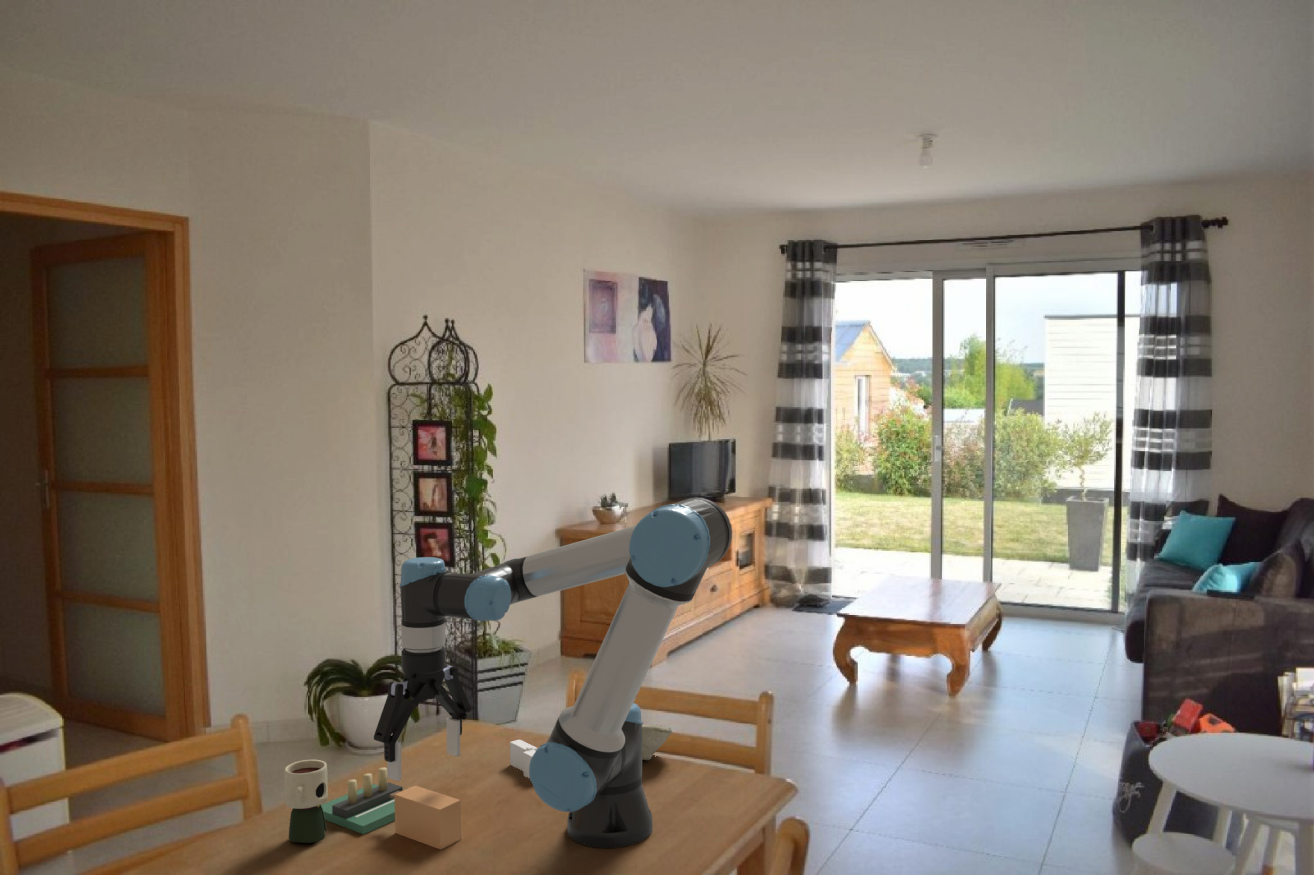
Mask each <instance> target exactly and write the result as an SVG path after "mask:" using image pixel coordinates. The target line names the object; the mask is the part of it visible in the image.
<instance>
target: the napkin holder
mask: <svg viewBox="0 0 1314 875" xmlns="http://www.w3.org/2000/svg"><path fill="white" fill-rule="evenodd" d="M538 748H539V747H536V746H534V745H532V744H530V743H528V742H526V741H524V740H522V739H516V740H513V741H509V750H510V752H509V754H510V758H509V760H510V763H509V764H511V766H512V767H514V768H515V769H517V768H518V770H519V769H520V770H519V771H521V770H522V772H523V777H525V778H527V777H528V778H527V779H529V778H530V776H529V765H530V761H531V758H532V756H533V755H534V753H535V752H536V750H537V749H538Z"/></svg>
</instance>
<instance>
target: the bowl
mask: <svg viewBox="0 0 1314 875" xmlns="http://www.w3.org/2000/svg"><path fill="white" fill-rule="evenodd" d="M672 734H673V731H672V728H671V727H670V726H666V725H663V724H662V725H661V724H652V723H651V724H643V725H642V761H644V760H645V761H650V760H651V759H652V758H653V755H654V754H655V753H656V752H657V751H658V750H659V748H660V747H661V746H662V745H664V743H666V742H667V740H668V738H670V735H672ZM650 755H651V756H650Z"/></svg>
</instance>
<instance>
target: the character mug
mask: <svg viewBox="0 0 1314 875" xmlns="http://www.w3.org/2000/svg"><path fill="white" fill-rule="evenodd" d="M327 764H328V763H327V762H326V761H324V760H319V759H304V760H303V759H302V760H299V761H294V762H292V763H290V764H288V765H286V766H285V767H284V771H283V772H284V774H283V776H284V802H285V805H286V806H287V808H291V809H292V810H291V811H290V819H289V827H288V839H289V841H290V842H294V843H304V844H308V843H309V844H310V843H315V842H320V840H323V839H324V838H325V837H326V834H328V832H327V825H326V820H325V818H324V813H323V808H322V806H321V805H322V804H324V803H326V802H327V801H328V796H329V791H328V790H329V788H328V765H327Z"/></svg>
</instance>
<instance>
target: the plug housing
mask: <svg viewBox="0 0 1314 875" xmlns="http://www.w3.org/2000/svg"><path fill="white" fill-rule="evenodd" d="M389 795H390V798H392V799H395V820H394V827H395V828H394V833H395V834H397V835H400V836H403V837H404V838H405V837H406V838H407V839H411V840H414V841H416V842H420V843H422V844H425V845H427V846H430V847H431V848H432V847H433V848H434V849H435V848H436V849H438V850H443V849H445V848H447V847H449V846H452V845H453V844H455V843H457V842H459V841H461V840H462V811H461V809H462V808H461V806H462V805H461V799H458V798H456V797H451V796H450V795H447V794H446V795H445V794H443V793H440V792H437V791H434V790H429V789H428V788H424V787H422V786H419V785H413V786H410V787H408V788H406V789H403V791H401V792H400V791H397V792H394V793H392V794H389Z"/></svg>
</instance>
